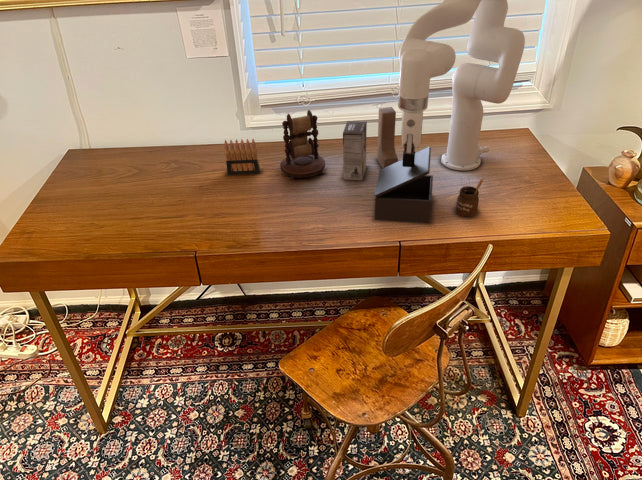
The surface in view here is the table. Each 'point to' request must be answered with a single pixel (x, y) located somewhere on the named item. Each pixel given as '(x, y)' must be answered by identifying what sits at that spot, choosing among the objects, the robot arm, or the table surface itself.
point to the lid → (403, 173)
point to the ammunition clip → (237, 160)
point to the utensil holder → (468, 200)
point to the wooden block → (386, 137)
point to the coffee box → (354, 150)
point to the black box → (407, 202)
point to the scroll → (301, 147)
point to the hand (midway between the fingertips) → (408, 165)
